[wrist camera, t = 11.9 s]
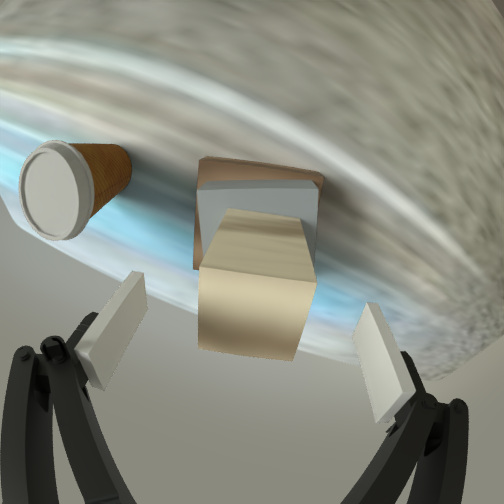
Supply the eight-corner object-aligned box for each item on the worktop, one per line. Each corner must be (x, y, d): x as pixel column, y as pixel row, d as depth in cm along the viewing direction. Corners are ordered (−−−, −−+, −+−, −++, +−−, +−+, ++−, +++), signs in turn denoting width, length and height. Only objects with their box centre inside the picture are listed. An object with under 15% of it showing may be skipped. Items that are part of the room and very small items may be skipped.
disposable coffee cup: (71, 175, 29) (8, 203, 19) (106, 116, 26) (36, 121, 15) (118, 220, 32) (62, 265, 21) (159, 163, 28) (101, 187, 18)
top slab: (207, 181, 26) (196, 190, 22) (311, 179, 25) (318, 188, 21) (215, 271, 30) (207, 292, 26) (306, 272, 29) (311, 292, 26)
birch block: (228, 207, 23) (199, 266, 14) (299, 218, 23) (317, 283, 14) (222, 270, 25) (198, 348, 16) (286, 279, 25) (292, 361, 16)
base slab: (208, 155, 28) (199, 160, 25) (317, 171, 28) (324, 177, 25) (201, 253, 34) (193, 269, 30) (297, 267, 34) (300, 284, 30)
